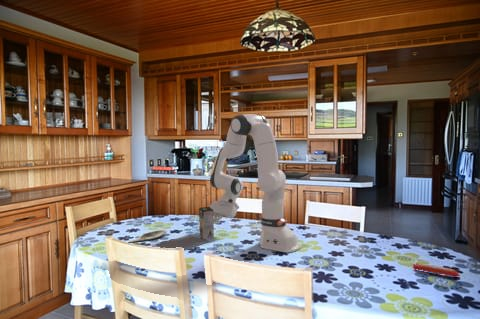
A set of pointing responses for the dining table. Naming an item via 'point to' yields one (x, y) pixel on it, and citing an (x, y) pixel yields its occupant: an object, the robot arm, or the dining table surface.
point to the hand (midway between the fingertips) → (215, 221)
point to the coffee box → (206, 222)
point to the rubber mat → (183, 242)
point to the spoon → (150, 235)
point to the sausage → (435, 269)
